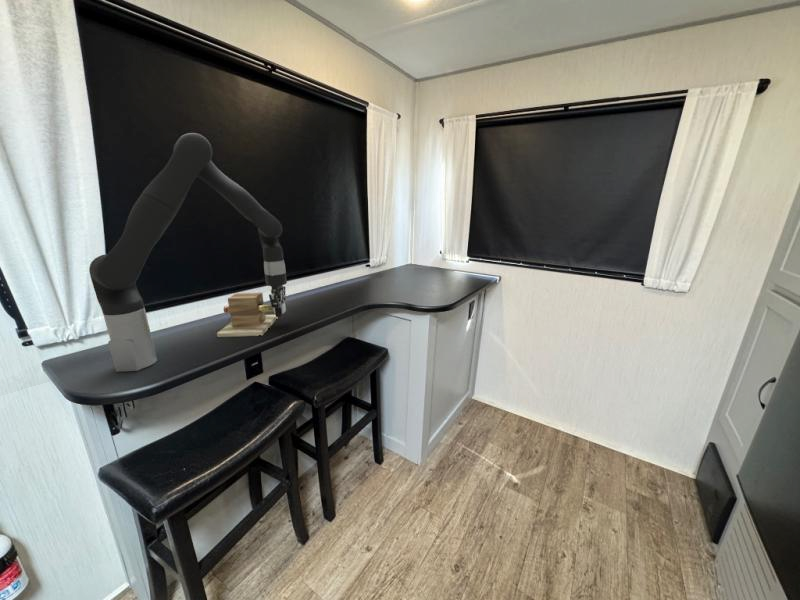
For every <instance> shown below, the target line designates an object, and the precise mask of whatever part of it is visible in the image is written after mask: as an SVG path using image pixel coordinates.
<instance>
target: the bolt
mask: <svg viewBox="0 0 800 600" xmlns="http://www.w3.org/2000/svg"><path fill="white" fill-rule="evenodd" d="M258 307H259V312H260V311H265V312H273V315H275V308H272V305H271V304H269V305H268V304H264V305H258ZM286 311H287V308H286V301H284V302H281V312H282V315H283V314H285V313H286ZM223 312H224V313H225V314H226V313H227V314H228V313H230V310H229V305H226V306H223Z"/></svg>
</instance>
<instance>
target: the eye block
mask: <svg viewBox="0 0 800 600" xmlns="http://www.w3.org/2000/svg"><path fill="white" fill-rule="evenodd" d="M227 303H228V306H229V310H230V312H229V315H230V320H231V322H229V323H228V324H227V325H225V326H224V327H223V328H222V329H220V330H219V331H217V333H216V335H217V338H229V337H230V338H231V337H234V338H235V337H258V336H259V335H261V336H264V334H265V333H266V332H267V331H268V330H269V329H268V328H271V327H272V325H274V323H275V322H276V321H277V320H276V319H279V317H276V315H275V314H266V311H260V312H259V307H258V305H265V304H264V303H265V302H264V294H263V292H236V293H234V294H233V295H230V296H229V297H228V298H227Z"/></svg>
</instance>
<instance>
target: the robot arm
mask: <svg viewBox="0 0 800 600" xmlns="http://www.w3.org/2000/svg"><path fill="white" fill-rule="evenodd" d="M212 158H213V148H212V145H211V143H210V142H209V140H208V139H207V138H206V137H205V136H204V135H202V134H200V133H195V132H190V133H189V132H188V133H185V134H183V135H181V136H180V137H179V138H178V139H177V141H176V142H175V144H174V145H173V152H172V154H171V156H170V158H169V159H168V160H169V161H168V162H167V163H166V165H165V166H164V168H162V170H161V171H160V172H159V173H158V174H157V175H156V176H155V177H154V178H153V179H152V180H151V181H150V182H149V184H148V185H147V186H146V187H145V188H144V190H143V191H142V193H141V194H140V196H139V197H138V199H136V201H135V203H134V204H133V206H132V208H131V210H130V212H129V215H128V217H127V220H126V223H125V227H124V229H123V233H122V234H121V236H120V238H119V240H118V241H117V243H116V244H114V246H113V248H112V249H111V250H110V251H109V252H108V253H107V254H102V255H99V256H96V257H95V258H93V260H92V261H90V264H89V270H88V271H89V276H90V280H91V284H92V286H93V289H94V292H95V293H94V294H95V295H96V299H97V303H98V304H99V307H100V309H101V312H102V315H103V318H104V322H105V326H106V330H107V333H108V337H109V339H110V340H109V341H108V342H107V344H108V348H109V351H110V354H111V357H112V361H113V366H114V368H115V372H116V373H117V372H137V371H140V370H142V369H145V368H148V367H150V366H151V365H153V364H156V362H157V361H158V358H157V353H156V349H155V345H154V340H153V338H152V333H151V329H150V324H149V320H148V315H147V312H146V308H145V304H144V300H143V298H142V296H141V294H140V292H139V290H138V287H137V284H136V282H137V280H138V279H139V278H140V275H141V273H142V270H143V268H144V266H145V264H146V261H147V259H148V258H149V255H150V254H151V252H152V250H153V249H154V247H155V246H156V244H158V242H159V240H160V239H161V238H162V236H163V235H164V233H165V232H166V230H167V229H168V227H169V225H171V223H172V222H173V220H174V219H175V217H176V215H177V214H178V212H179V210H180V208H181V206H182V205H183V203H184V201H185V199H186V197H187V194H188V192H189V190H190V188H191V186H192V184H193V182H194V181H195V179H196V178H197V177H198V178H200V179H201V180H202V181H203V182H205V183H206V184H207V185H208V186H209V187H211V188H212V189H213V190H215V192H217V193H218V194H219V195H220V196H221V197H222V198H223V199H225V200H226V201H227V202H228V203H229V204H230V205H231V206H232V207H233V208H234V209H235V210H236V211H237V212H239V214H240V215H242V216H243V218H245V220H248V221H250V222H251V223H252V224H254V226H256V227H257V231H258V236H259V241H260V244H261V247H262V255H263V269H264V270H263V271H264V277H265V279H264V280H265V284H266V286H268V287H271V289H270V294H269V295H268V297H269V298H268V299H269V301H270V305H272V308H275V314H274V315H276V317H278V318H281V317H282V316H283V314H282V312H281V302H286V299H287V298H286V286H284V285H286V284H287V283H288V281H287V280H288V279H287V271H286V263H285V260H284V250H283V247H282V245H281V244H280V240H279V237H280V236H281V235H282V233H283V226H282V224H281V222H280V221H279V220H278V218H276V217H275V216H274V215H272V214H271V213H270V212H269V211H268V210H267V209H265V208H264V207H263V206H262V205H261V204H260V203H259V202H258V201H257V200H256V198H255V197H254V196H252V194H250V192H248V190H246V189H245V188H244V187H242V186H240V184H238V183H237V182H235V181H234V180H232V179H231V178H230V177H228V176H227V175H225V174H224V172H222V171H221V170H220V169H219V168H218V167H217V166H216V165H215V164H214V162H213V161H212Z"/></svg>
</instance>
